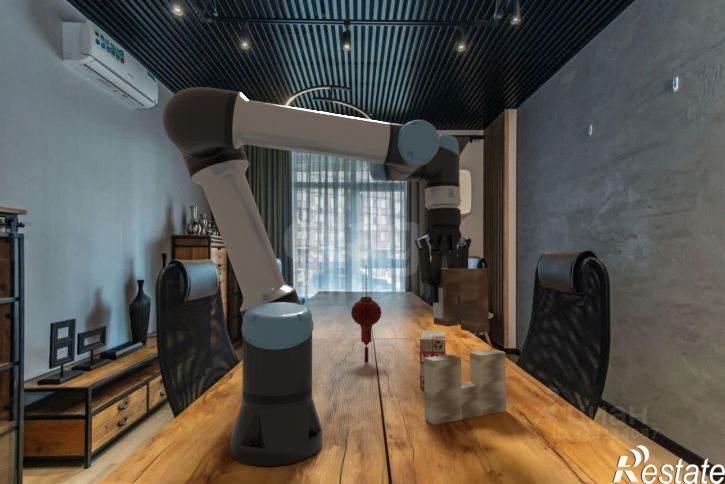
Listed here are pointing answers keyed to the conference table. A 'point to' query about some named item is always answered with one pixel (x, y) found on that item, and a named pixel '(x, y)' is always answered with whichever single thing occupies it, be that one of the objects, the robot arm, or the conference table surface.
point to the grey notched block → (464, 386)
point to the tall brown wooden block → (465, 298)
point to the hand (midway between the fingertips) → (445, 317)
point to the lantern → (366, 317)
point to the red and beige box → (430, 348)
